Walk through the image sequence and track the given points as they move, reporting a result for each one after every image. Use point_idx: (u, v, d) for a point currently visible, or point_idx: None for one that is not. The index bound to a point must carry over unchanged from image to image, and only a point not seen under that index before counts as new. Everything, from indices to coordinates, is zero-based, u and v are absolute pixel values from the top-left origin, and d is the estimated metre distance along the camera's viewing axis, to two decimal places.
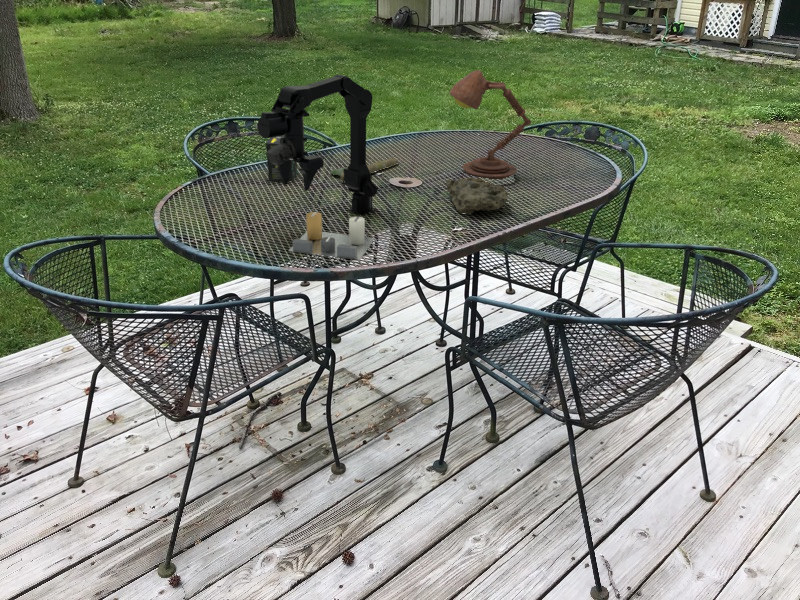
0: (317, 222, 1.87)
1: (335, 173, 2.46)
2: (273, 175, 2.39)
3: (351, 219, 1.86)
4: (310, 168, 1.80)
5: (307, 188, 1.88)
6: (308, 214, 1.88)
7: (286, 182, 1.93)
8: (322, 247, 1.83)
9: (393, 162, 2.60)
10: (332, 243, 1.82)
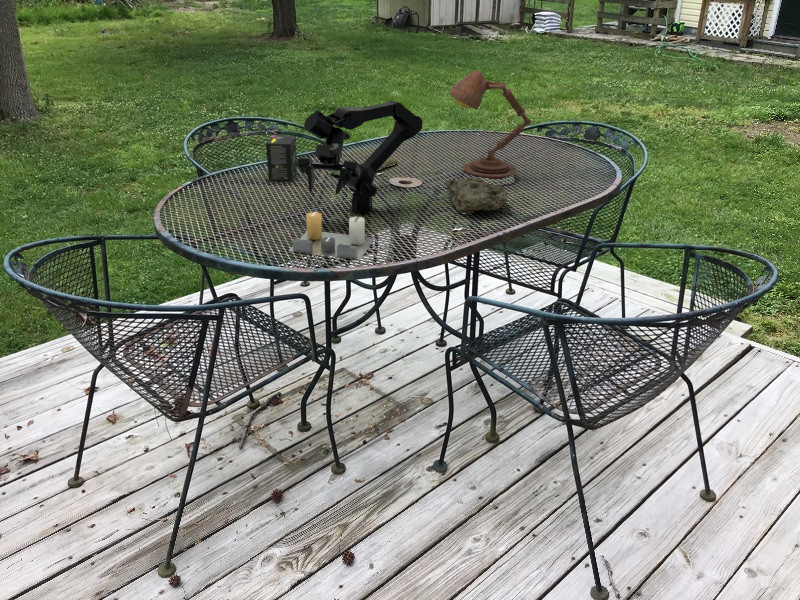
0: (317, 222, 1.87)
1: (335, 173, 2.46)
2: (273, 175, 2.39)
3: (351, 219, 1.86)
4: (356, 168, 1.92)
5: (338, 192, 1.93)
6: (308, 214, 1.88)
7: (311, 190, 1.95)
8: (322, 247, 1.83)
9: (392, 161, 2.60)
10: (332, 243, 1.82)
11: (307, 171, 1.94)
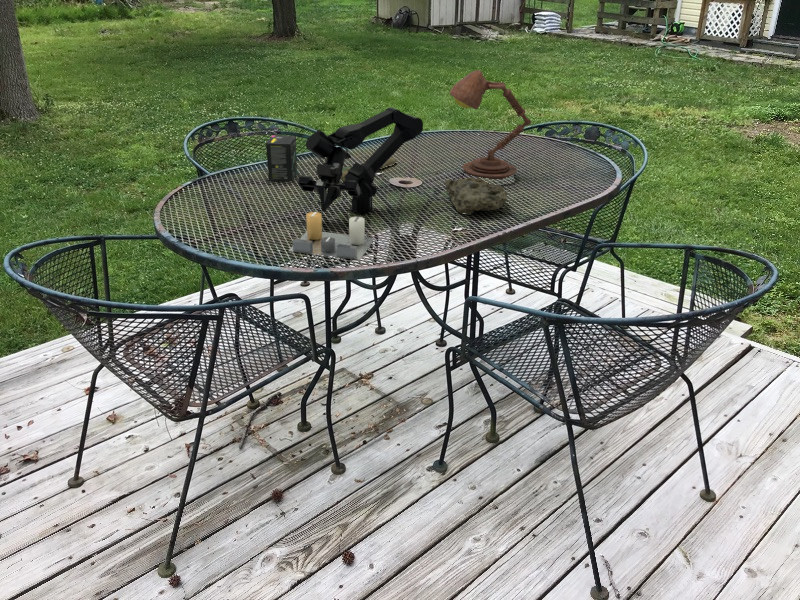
0: (317, 222, 1.87)
1: None
2: (273, 175, 2.39)
3: (351, 219, 1.86)
4: (356, 187, 1.94)
5: (325, 209, 1.96)
6: (308, 214, 1.88)
7: None
8: (322, 247, 1.83)
9: (392, 161, 2.61)
10: (332, 243, 1.82)
11: (320, 191, 1.96)
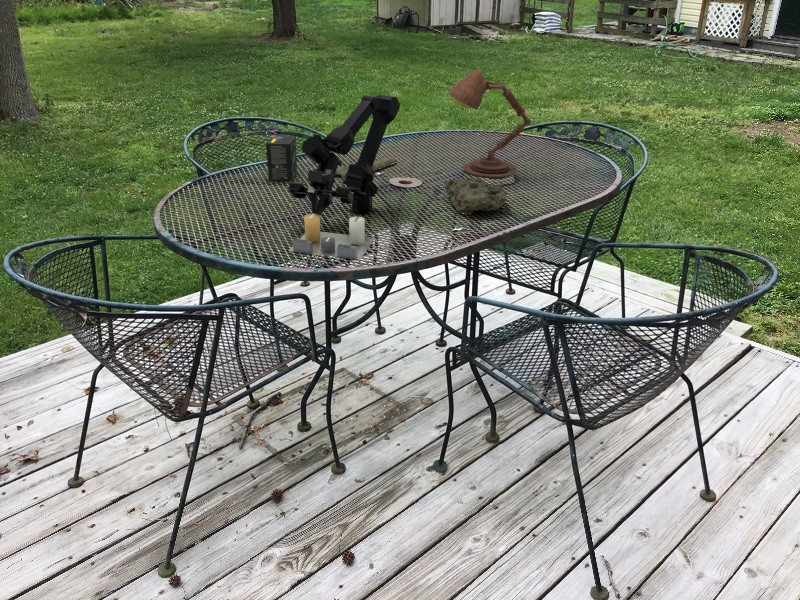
0: (316, 224, 1.86)
1: None
2: (273, 175, 2.39)
3: (351, 219, 1.86)
4: (348, 194, 1.88)
5: None
6: (306, 216, 1.87)
7: None
8: (322, 247, 1.83)
9: (392, 161, 2.61)
10: (332, 243, 1.82)
11: (311, 198, 1.90)
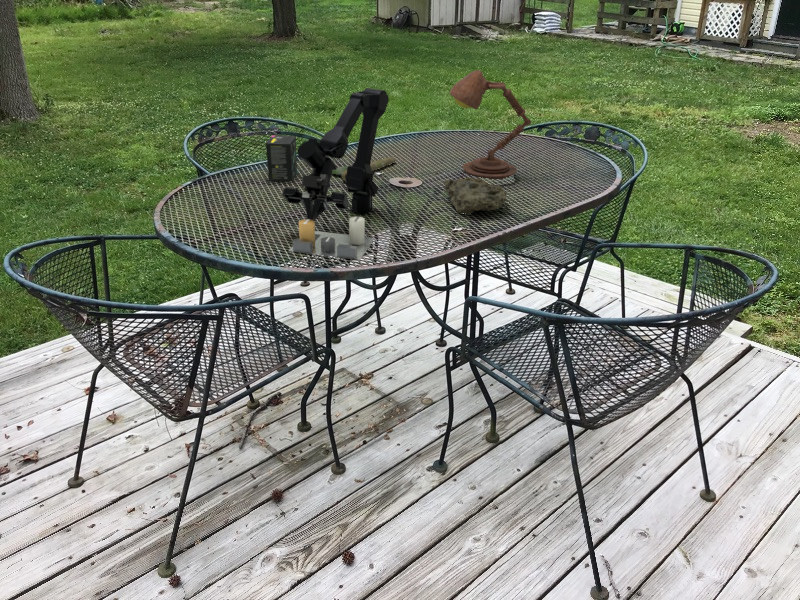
0: (310, 229, 1.82)
1: (335, 172, 2.47)
2: (273, 175, 2.39)
3: (351, 219, 1.86)
4: (344, 200, 1.84)
5: None
6: (301, 221, 1.83)
7: None
8: (322, 247, 1.83)
9: (391, 160, 2.61)
10: (332, 243, 1.82)
11: (306, 203, 1.86)
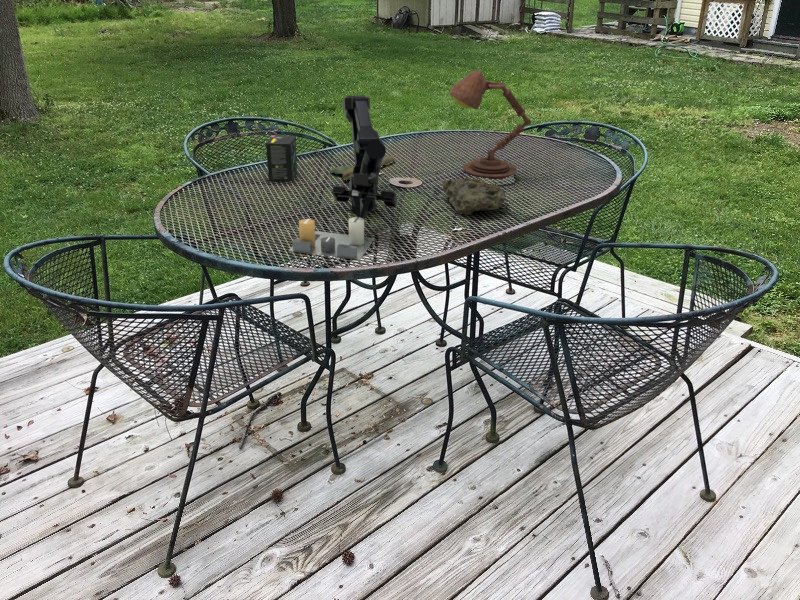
0: (310, 229, 1.82)
1: (336, 171, 2.48)
2: (273, 175, 2.39)
3: (351, 220, 1.85)
4: (394, 197, 1.87)
5: None
6: (301, 221, 1.83)
7: None
8: (322, 247, 1.83)
9: (390, 160, 2.63)
10: (332, 243, 1.82)
11: (356, 201, 1.88)
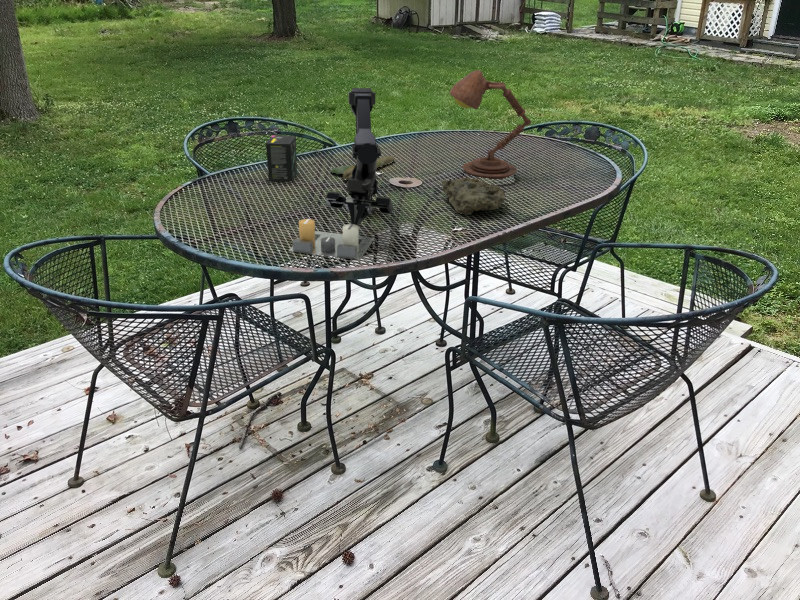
0: (310, 229, 1.82)
1: (336, 171, 2.48)
2: (273, 175, 2.39)
3: (345, 227, 1.80)
4: (389, 204, 1.82)
5: None
6: (301, 221, 1.83)
7: None
8: (322, 247, 1.83)
9: (390, 159, 2.63)
10: (332, 243, 1.82)
11: (350, 208, 1.83)
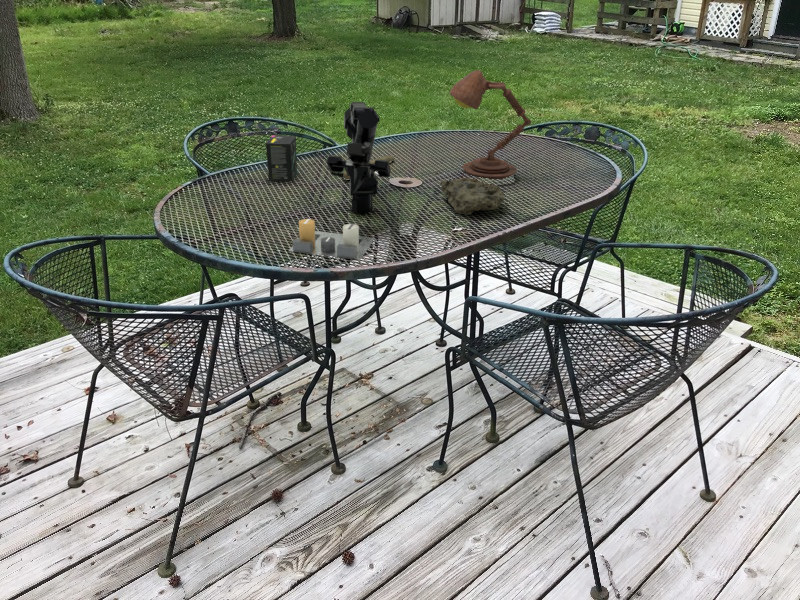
0: (310, 229, 1.82)
1: None
2: (273, 175, 2.39)
3: (345, 227, 1.80)
4: (387, 167, 1.90)
5: (355, 190, 1.92)
6: (301, 221, 1.83)
7: None
8: (322, 247, 1.83)
9: (390, 159, 2.64)
10: (332, 243, 1.82)
11: (350, 171, 1.92)
